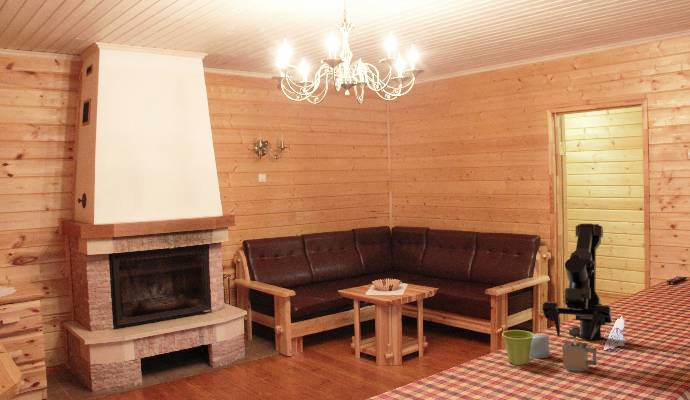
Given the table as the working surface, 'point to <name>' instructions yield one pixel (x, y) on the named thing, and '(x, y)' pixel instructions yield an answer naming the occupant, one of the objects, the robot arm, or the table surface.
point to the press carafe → (577, 356)
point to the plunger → (574, 333)
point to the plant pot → (518, 346)
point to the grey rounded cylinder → (540, 346)
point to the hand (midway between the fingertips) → (574, 337)
